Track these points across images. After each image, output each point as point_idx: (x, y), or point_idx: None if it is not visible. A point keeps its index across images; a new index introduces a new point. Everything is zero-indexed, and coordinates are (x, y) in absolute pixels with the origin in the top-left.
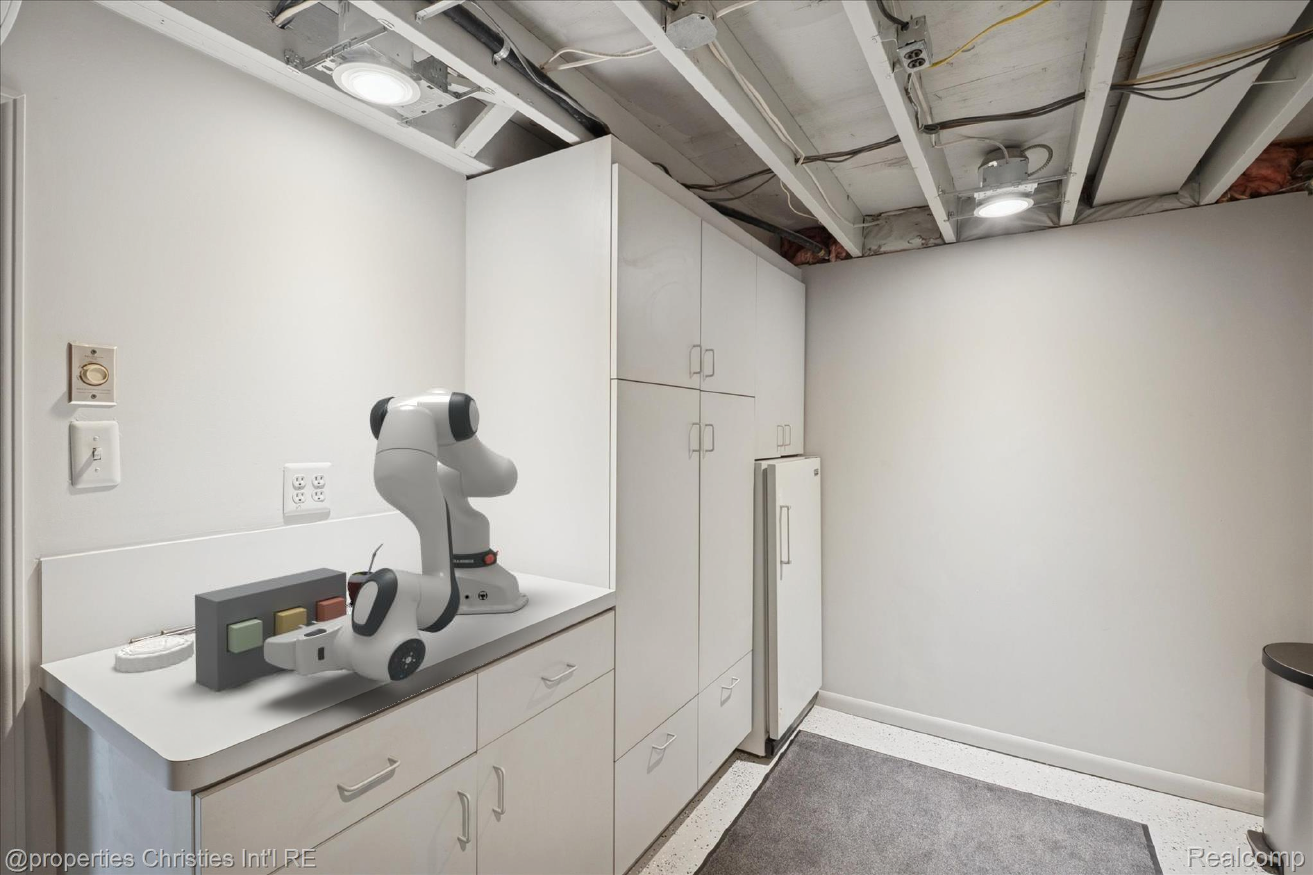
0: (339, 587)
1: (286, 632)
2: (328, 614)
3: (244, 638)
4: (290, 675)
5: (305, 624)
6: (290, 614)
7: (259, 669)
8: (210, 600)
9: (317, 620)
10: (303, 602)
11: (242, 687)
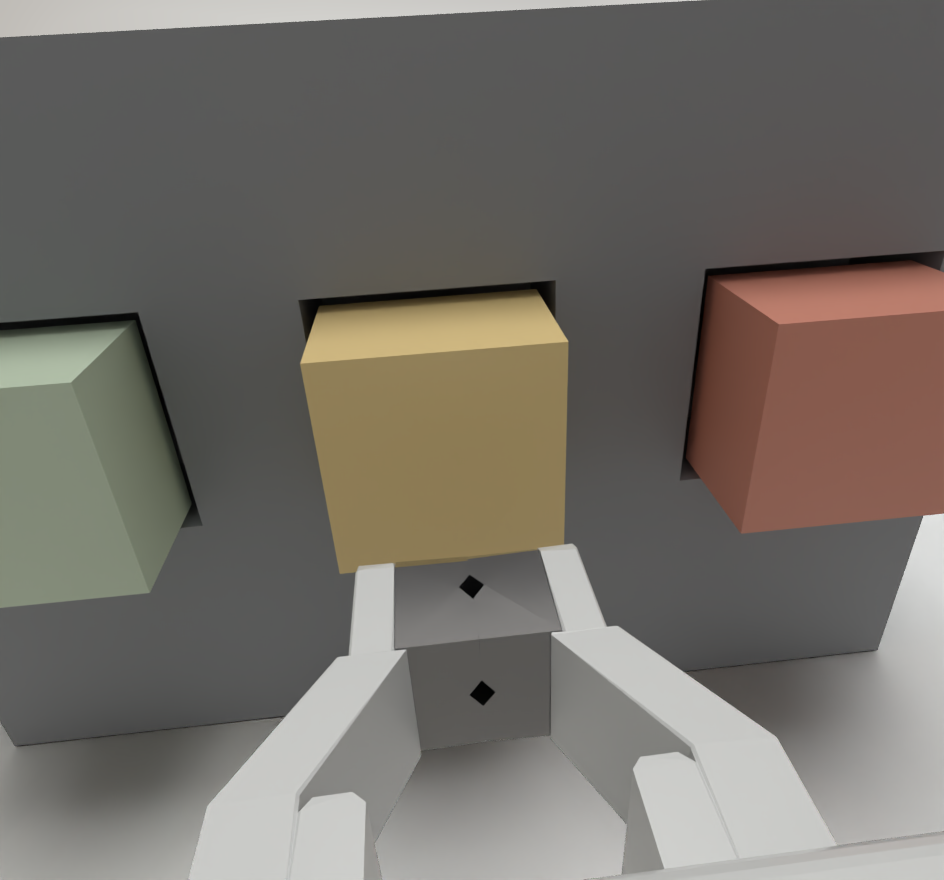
0: None
1: (366, 527)
2: (799, 434)
3: None
4: (403, 845)
5: (436, 593)
6: (388, 364)
7: (263, 679)
8: None
9: (697, 439)
10: (584, 255)
11: (111, 795)
